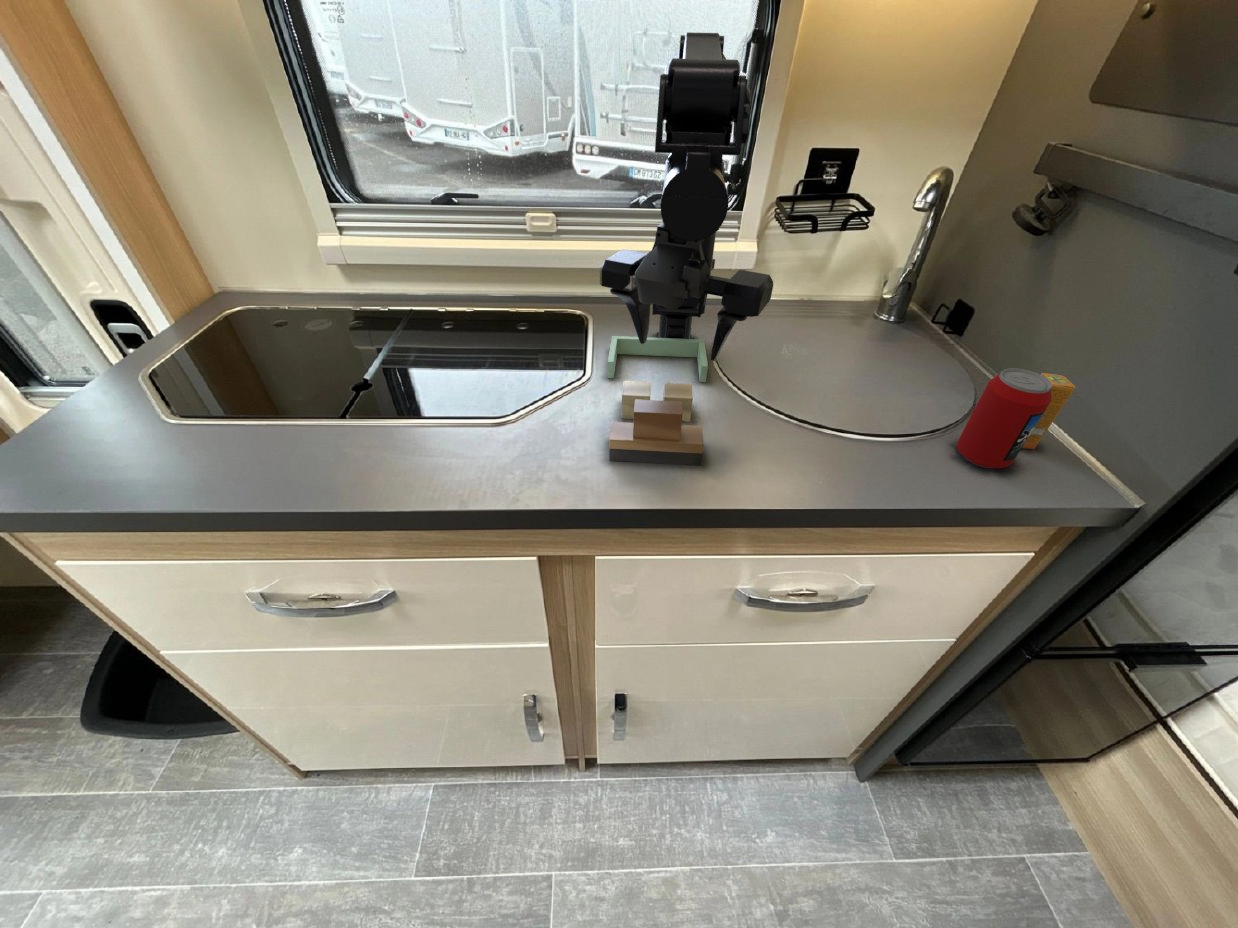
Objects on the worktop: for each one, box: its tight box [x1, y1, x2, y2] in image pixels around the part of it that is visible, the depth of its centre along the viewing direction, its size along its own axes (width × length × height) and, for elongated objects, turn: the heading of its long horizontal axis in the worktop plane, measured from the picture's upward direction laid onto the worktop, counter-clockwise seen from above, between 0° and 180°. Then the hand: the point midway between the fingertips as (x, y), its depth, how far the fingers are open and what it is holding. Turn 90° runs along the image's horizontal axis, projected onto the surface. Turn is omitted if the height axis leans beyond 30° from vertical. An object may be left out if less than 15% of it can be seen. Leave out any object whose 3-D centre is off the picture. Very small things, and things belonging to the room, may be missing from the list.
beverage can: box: [956, 367, 1052, 469], centre depth 67 cm, size 7×7×12 cm
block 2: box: [662, 382, 694, 423], centre depth 77 cm, size 4×4×4 cm
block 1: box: [621, 380, 652, 420], centre depth 77 cm, size 4×4×4 cm
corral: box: [607, 335, 709, 383], centre depth 88 cm, size 10×16×3 cm, turn 86°
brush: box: [608, 399, 705, 466], centre depth 68 cm, size 4×12×8 cm, turn 86°
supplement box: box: [1022, 372, 1077, 450], centre depth 70 cm, size 3×4×10 cm
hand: (677, 350), depth 64 cm, fingers open, 9 cm apart
